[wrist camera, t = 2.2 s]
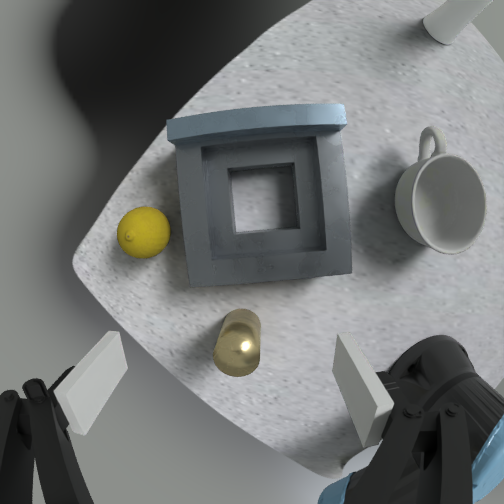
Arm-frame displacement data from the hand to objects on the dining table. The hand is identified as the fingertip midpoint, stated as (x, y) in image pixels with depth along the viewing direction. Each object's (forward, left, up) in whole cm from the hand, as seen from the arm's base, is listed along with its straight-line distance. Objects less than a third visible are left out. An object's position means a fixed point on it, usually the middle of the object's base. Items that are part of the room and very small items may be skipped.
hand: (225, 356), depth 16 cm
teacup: (+9, -23, -18) cm, 31 cm away
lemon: (+7, +10, -18) cm, 22 cm away
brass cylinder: (-6, +1, -18) cm, 19 cm away
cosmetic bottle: (+36, -34, -18) cm, 53 cm away
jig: (+9, -3, -18) cm, 21 cm away
